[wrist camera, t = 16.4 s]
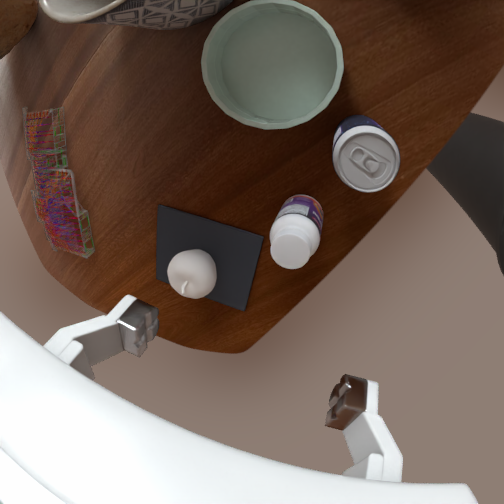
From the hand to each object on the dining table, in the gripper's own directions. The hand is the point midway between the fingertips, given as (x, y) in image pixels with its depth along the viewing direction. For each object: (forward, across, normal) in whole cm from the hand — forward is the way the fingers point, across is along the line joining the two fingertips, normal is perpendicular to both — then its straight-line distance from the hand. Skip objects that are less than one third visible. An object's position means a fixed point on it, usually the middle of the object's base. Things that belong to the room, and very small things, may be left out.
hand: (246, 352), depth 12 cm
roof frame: (+27, +43, +11) cm, 52 cm away
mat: (+27, +12, +18) cm, 35 cm away
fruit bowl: (+27, +7, -11) cm, 30 cm away
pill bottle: (+28, 0, +6) cm, 28 cm away
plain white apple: (+27, +12, +18) cm, 34 cm away
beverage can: (+28, -4, -5) cm, 28 cm away
